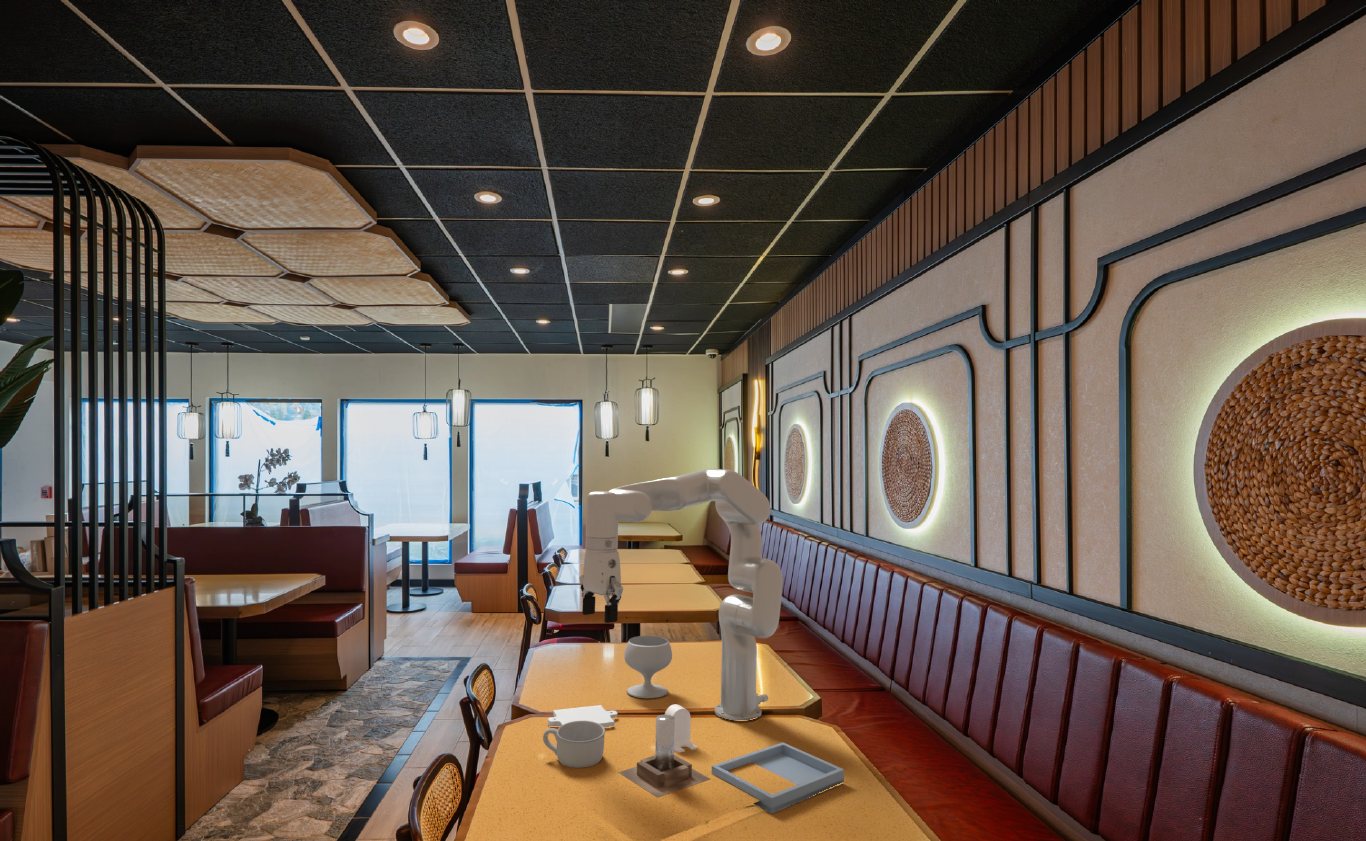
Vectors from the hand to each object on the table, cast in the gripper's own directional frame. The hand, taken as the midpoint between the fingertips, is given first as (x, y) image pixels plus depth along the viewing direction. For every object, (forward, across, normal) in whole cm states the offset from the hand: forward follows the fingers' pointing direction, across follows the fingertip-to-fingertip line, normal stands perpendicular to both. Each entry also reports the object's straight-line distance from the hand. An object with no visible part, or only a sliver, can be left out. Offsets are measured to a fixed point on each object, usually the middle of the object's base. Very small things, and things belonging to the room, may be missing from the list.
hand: (599, 618), depth 169 cm
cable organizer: (+31, -9, -17) cm, 37 cm away
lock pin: (+30, -21, -4) cm, 36 cm away
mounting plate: (+32, +19, -8) cm, 38 cm away
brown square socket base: (+31, -21, -4) cm, 38 cm away
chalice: (+31, +28, -35) cm, 55 cm away
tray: (+31, -35, -24) cm, 53 cm away
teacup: (+31, -2, +7) cm, 32 cm away
